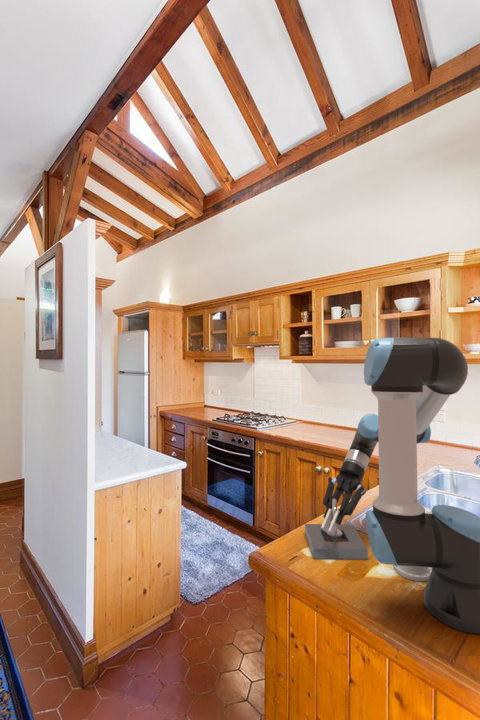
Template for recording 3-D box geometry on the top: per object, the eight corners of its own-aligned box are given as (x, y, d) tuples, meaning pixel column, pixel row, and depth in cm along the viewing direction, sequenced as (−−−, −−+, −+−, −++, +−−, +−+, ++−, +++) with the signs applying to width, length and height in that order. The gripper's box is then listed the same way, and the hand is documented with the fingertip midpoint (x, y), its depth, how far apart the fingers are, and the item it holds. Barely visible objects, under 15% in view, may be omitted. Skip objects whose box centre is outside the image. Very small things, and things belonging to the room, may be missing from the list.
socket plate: (367, 559, 109) (367, 549, 109) (313, 558, 109) (313, 548, 109) (352, 533, 125) (352, 524, 125) (304, 532, 125) (304, 524, 125)
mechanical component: (401, 557, 110) (387, 571, 103) (401, 542, 110) (387, 556, 103) (437, 571, 103) (425, 587, 96) (437, 555, 103) (425, 570, 96)
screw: (344, 537, 118) (339, 544, 114) (329, 533, 120) (324, 540, 116) (344, 497, 117) (339, 502, 113) (329, 494, 120) (324, 499, 116)
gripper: (379, 477, 122) (353, 545, 111) (339, 467, 133) (312, 528, 121) (371, 465, 118) (344, 534, 107) (331, 455, 129) (302, 517, 117)
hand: (327, 531), depth 114 cm, fingers closed on screw, 2 cm apart
